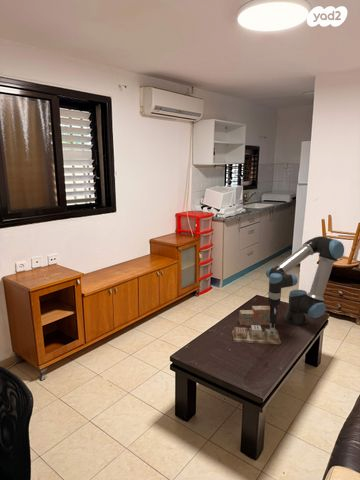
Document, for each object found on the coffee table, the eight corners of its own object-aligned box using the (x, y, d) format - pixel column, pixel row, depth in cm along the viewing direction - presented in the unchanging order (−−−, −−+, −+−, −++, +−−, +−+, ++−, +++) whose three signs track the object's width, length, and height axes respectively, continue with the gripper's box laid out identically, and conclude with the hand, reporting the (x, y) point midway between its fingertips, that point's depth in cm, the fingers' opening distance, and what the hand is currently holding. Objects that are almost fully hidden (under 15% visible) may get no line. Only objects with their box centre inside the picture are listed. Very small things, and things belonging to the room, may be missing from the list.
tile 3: (244, 333, 218) (244, 328, 217) (245, 337, 212) (245, 332, 212) (235, 332, 219) (235, 327, 218) (236, 337, 213) (236, 332, 212)
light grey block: (275, 334, 216) (275, 329, 215) (276, 339, 210) (277, 334, 210) (266, 334, 217) (266, 329, 216) (267, 338, 211) (267, 333, 210)
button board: (277, 334, 219) (277, 328, 218) (280, 344, 208) (281, 337, 207) (232, 332, 222) (232, 325, 221) (233, 341, 211) (233, 334, 209)
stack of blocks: (240, 326, 231) (241, 310, 228) (238, 321, 237) (239, 306, 234) (270, 325, 232) (271, 309, 229) (267, 321, 238) (268, 305, 235)
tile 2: (260, 330, 217) (260, 325, 216) (261, 335, 211) (261, 329, 210) (250, 329, 217) (251, 324, 216) (251, 334, 211) (252, 329, 211)
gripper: (266, 293, 214) (264, 326, 219) (269, 301, 201) (267, 336, 207) (278, 293, 213) (275, 326, 219) (282, 302, 200) (279, 336, 206)
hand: (271, 331), depth 213 cm, fingers closed
